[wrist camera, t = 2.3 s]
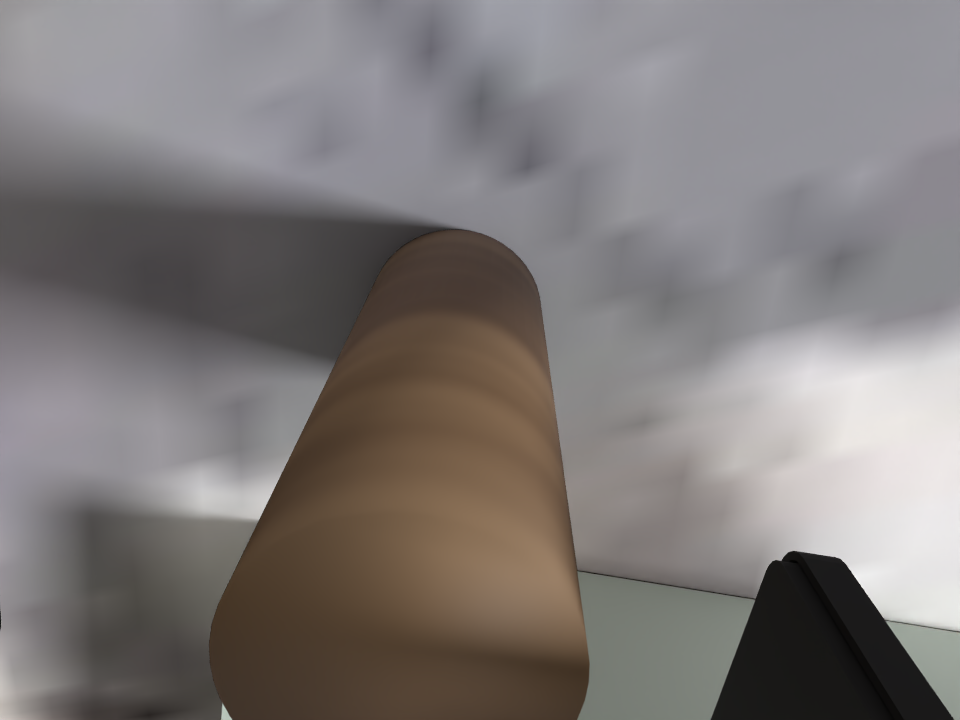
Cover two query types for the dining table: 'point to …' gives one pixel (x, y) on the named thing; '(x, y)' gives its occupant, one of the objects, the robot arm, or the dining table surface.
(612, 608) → the socket
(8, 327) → the dining table surface
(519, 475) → the peg
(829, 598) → the robot arm
